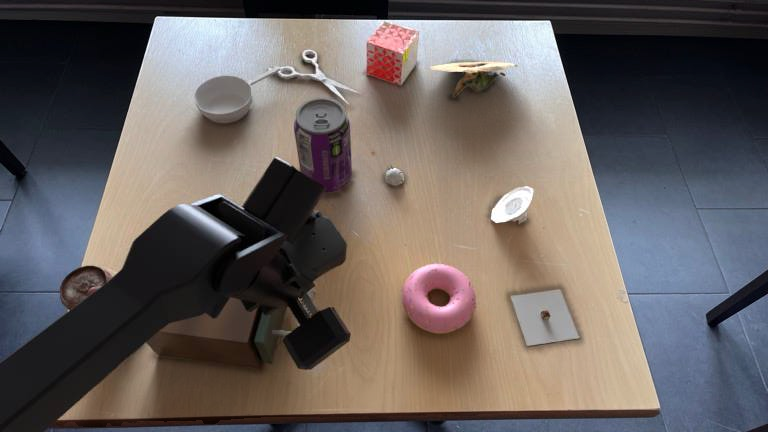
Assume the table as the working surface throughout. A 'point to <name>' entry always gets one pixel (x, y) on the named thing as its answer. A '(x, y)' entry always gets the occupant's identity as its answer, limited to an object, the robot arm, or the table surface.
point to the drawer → (270, 331)
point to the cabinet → (211, 338)
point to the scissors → (314, 75)
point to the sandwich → (474, 73)
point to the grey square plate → (544, 317)
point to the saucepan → (227, 96)
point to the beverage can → (324, 142)
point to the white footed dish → (513, 205)
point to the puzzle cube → (392, 52)
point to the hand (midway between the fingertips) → (307, 293)
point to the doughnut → (432, 315)
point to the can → (82, 284)
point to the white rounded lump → (394, 176)
